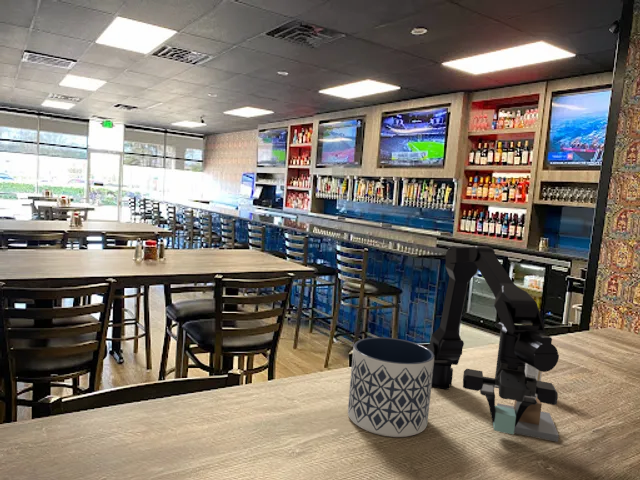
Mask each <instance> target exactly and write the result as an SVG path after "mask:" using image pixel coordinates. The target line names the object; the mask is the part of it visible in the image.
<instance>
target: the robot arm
mask: <svg viewBox="0 0 640 480" xmlns="http://www.w3.org/2000/svg"><path fill="white" fill-rule="evenodd" d="M445 269H446V272H447V275H448V276H449V277H448V283H447V286H446V287H447V288H446V293H445V299H444V303H443V308H442V309H443V310H442V313H441V319H440V324H439V327H438V328H437V329H436V330H435V331H434V332H433V333H432V334H431V336H430V337H431V338H430V341H429V343H428V345H427V346H425V347H426V348H428V349H429V350H431V351H432V352H433V354H434V366H433V376H432V385H431V388H432V387H433V388H434V387H435V388H438V389H444V390H450V386H452V382H453V375H454V374H453V373H454V368H453V367H452V365H453V366H454V365H455V366H458V364H459V362H460V358H461V356H462V355H463V349H464V345H465V343H464V340H463V339H462V338H461V336H460V332H459V329H460V326H461V319H462V315H463V310H464V305H465V300H466V296H467V290H468V285H469V282H470V281H471V280H472V278H473V277H474V276H475V275H476V274H477V273H478V271H479V272H480V274H481V276H482V278H483V279H484V281H485V282H486V283H487V286H488V287H489V288H490V290H491V292H492V293H493V295H494V296H493V297H494V298H495V299H494V305H493V306H494V308H495V310H496V314H497V315H498V318H499V320H500V321H499V322H497V323H496V324H495V325H494V326H495V328H497V329H499V330H500V335H499V342H498V350H497V359H496V367H495V376H494V378H493V377H489V376H484V375H483V370H477V369H470V368H466V369H465V370H463V376H462V378H463V379H462V387H463V388H464V389H465V390H470V391H476V392H478V391H479V392H480V393H479V394H480V395H481V396H485V398H486V400H487V404H488V407H489V412H490V416H491V417H490V418H491V423H493V422H494V420H495V405H496V394H495V392H496V391H495V388H496V389H498V397H500V398H501V399H503V400H512V401H515V400H516V401H517V404H516V409H515V415H516V420H515V427H516V425H517V423H518V421H519V420H520V418H521V416H522V414H523V413H524V411H525V410H526V409H527V407H528V406H530V405H532V404H533V405H536V404H537V401H536V397H537V398H538V399H539V401H540V402H541V403H542V404H547V405H554V406H555V405H558V398H559V396H558V395H559V393H558V391H557V389H556V387H555V385H553V383H552V382H547V381H542V380H541V381H536V379H535V378H530V377H526V375H525V365H526V363H527V364H528V365H530V366H532V367H534V368H536V369H537V370H539V371H542V373H547V372H550V371H551V370H553V369H554V368H555V367H556V365H557V364H558V362H559V359H560V357H559V356H560V355H559V352H558V349H557V347H556V346H555V345H554V344H552V341H553V339H552V337H551V336H549V335H546V327H545V324H544V321H543V319H542V316H541V313H540V309H539V306H538V304H537V302H536V300H535V298H533V297H532V296H531V295H530V294H529V293H528V292H527V291H525V290H524V289H522V288H520V287H518V286H517V285H516V284H515V283H514V281H513V280H512V278H511V277H510V275H509V273H507V271H506V269H505V268H504V267H503V265H502V263H501V262H500V261H499V259H498V257H497V256H496V253H495V250H494V248H493V247H491V246H483V245H474V246H462V245H452V246H450V247H449V248H448V249H447V251H446V252H445Z"/></svg>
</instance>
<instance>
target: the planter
mask: <svg viewBox="0 0 640 480" xmlns="http://www.w3.org/2000/svg"><path fill="white" fill-rule="evenodd" d="M426 347H427V346H424V345H422V344H419V343H417V342H413V341H409V340H407V339H399V338H394V337H393V338H392V337H381V336H380V337H366V338H363V339H358V340H357V341H356V342H355V343H354V344H353V348H352V357H351V358H352V359H351V360H352V361H351V369H350V370H351V371H350V380H349V391H348V404H347V415H348V417H349V419H350V420H351V422H353V424H355V425H356V426H357V427H359V428H360V429H363V430H364V431H367V432H369V433H372V434H373V435H374V434H375V435H379V436H384V437H392V438H406V437H412V436H415V435H418V434H420V433H422V432H423V431H424V430H425V429H426V428H427V426H428V421H429V411H430V402H431V393H432V386H431V385H432V376H433V366H434V354H433V352H432V351H431V350H429V349H428V348H426Z"/></svg>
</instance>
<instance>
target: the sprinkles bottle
mask: <svg viewBox="0 0 640 480" xmlns="http://www.w3.org/2000/svg"><path fill="white" fill-rule="evenodd" d="M542 373H543V372H542V371H539V370H537V369H536V368H534V367H532V366H530V365H528V364H527V363H526V365H525V375H526V377H530V378H535V379H536V381H542Z"/></svg>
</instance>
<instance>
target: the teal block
mask: <svg viewBox="0 0 640 480" xmlns="http://www.w3.org/2000/svg"><path fill="white" fill-rule="evenodd" d="M515 420H516V415H515V410H514V409H511V408H506V407H501V406H497V404H495V420H494V422H492V425H493V426H492V427H493V432H500V433H505V434H508V435H509V434H510V435H514V434H515V433H514V428H515Z"/></svg>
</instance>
